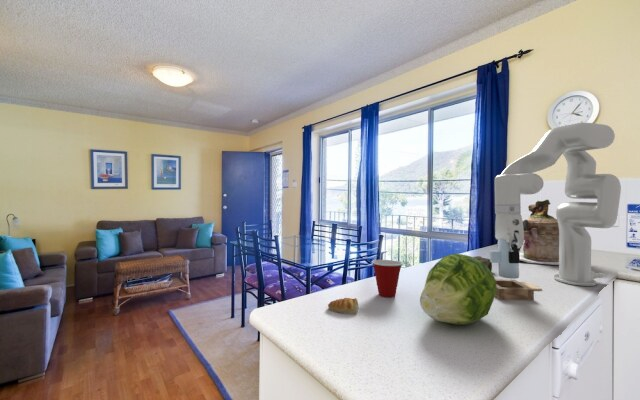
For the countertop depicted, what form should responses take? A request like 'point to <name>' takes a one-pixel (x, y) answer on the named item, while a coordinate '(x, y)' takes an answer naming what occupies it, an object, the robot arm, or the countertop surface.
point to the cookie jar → (540, 236)
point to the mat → (531, 286)
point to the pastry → (344, 306)
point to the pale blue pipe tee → (504, 260)
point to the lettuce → (458, 290)
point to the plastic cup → (387, 276)
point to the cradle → (513, 290)
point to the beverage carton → (485, 262)
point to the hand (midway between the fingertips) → (508, 260)
